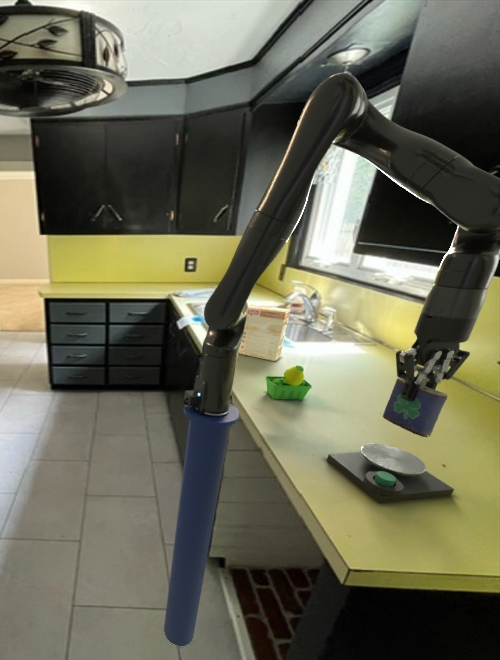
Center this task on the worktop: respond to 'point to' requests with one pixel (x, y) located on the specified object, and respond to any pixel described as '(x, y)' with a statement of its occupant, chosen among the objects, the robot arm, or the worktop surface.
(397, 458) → the scale pan
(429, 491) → the scale
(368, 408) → the worktop surface
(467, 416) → the worktop surface
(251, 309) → the coffeecake box
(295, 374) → the fruit basket
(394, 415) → the flask
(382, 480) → the tare button
